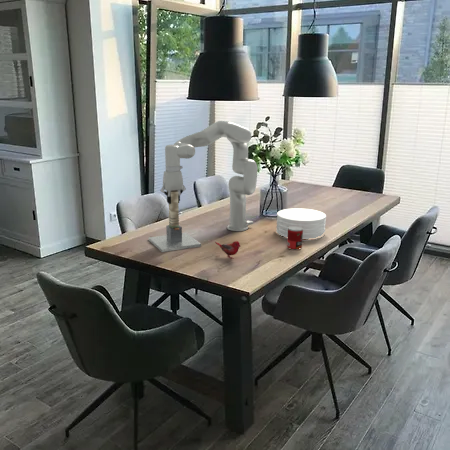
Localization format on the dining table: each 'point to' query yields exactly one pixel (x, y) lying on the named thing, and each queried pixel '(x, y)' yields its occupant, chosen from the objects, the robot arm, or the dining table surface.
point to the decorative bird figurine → (230, 248)
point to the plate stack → (301, 221)
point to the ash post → (174, 210)
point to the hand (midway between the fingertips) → (173, 202)
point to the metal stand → (174, 240)
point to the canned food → (295, 237)
